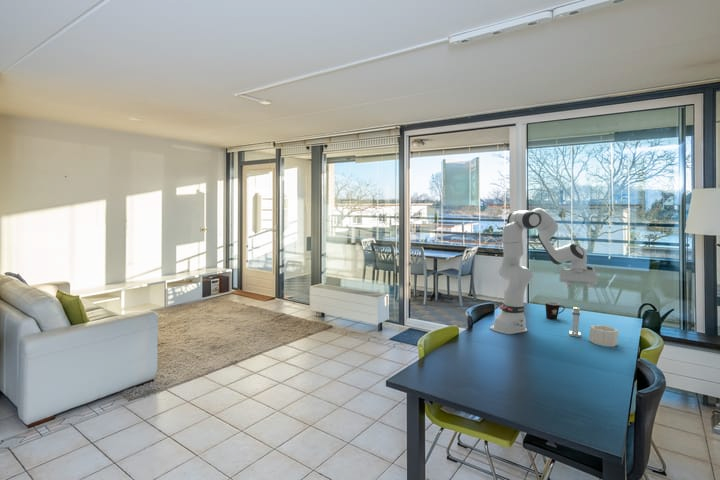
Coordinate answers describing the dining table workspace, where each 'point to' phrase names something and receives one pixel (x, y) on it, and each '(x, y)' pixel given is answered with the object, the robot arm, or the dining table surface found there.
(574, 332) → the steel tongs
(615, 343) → the round wooden bowl
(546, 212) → the robot arm
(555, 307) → the coffee mug
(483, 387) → the dining table surface
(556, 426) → the dining table surface
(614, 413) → the dining table surface
